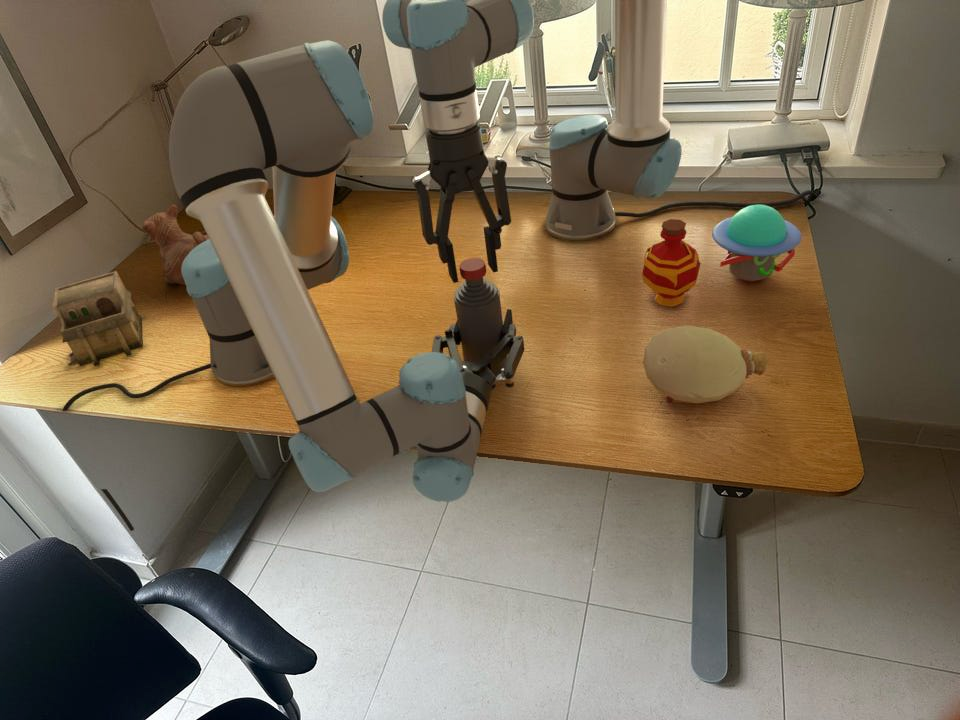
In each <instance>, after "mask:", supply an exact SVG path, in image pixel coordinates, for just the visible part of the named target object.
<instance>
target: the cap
mask: <svg viewBox="0 0 960 720" xmlns="http://www.w3.org/2000/svg"><path fill="white" fill-rule="evenodd" d="M459 274H460V278H462V279H463V280H464V281H465V280H470V281H472V280H478V279H481V278H482V277H483V278H485V277H486V274H487V264H486V262H485V259H482V258H479V257H469V258H466V259H463V260H462V261H461V262H460V263H459Z"/></svg>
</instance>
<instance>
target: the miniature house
mask: <svg viewBox="0 0 960 720" xmlns="http://www.w3.org/2000/svg"><path fill="white" fill-rule="evenodd" d="M52 308H53V311H54V312H55V314H56V315H57V317H58V319H59V321H60V325H61V326H60V334H61V336H62V344H65V343H66V344H67V345H68V347H69V349H70V350H71V353H68V356H69V357H70V358H69V359H70V360H69V362H68V363H67V366H68V367H71V366H74V365H77V364H78V365H79V367H83V366H87V365H90V364H92V365H93V366H94V367H98V366H100V364H101V361H102V360H105V359H109V358H113V357H116V356H118V355H121V354H125V356H126V357H130V356H132V351H135V350H137V349H141V348H143V347H144V340H143V336H144V335H143V319H142V316H141V314H140V313H139V310H138V308H137V306H136V305H135V304H134V303H133V301H132V292H131V291H129V290H127V288H126V287H125V285H124V283H123V281H122V279H121V277H120V275H119V273H118V271H116V270H114V271H111V272H108V273H104V274H101V275H98V276H93V277H89V278H87V279H84V280H79V281H76V282H73V283H70V284H66V285H63V286H58V287H55V289H54V296H53V302H52Z"/></svg>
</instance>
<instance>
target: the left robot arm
mask: <svg viewBox="0 0 960 720" xmlns="http://www.w3.org/2000/svg"><path fill="white" fill-rule="evenodd" d="M374 128H375V117H374V112H373V107H372V103H371V100H370V97H369V93H368V91H367V87H366V85H365V82H364V80H363V78H362V75H361V73H360V71H359V69H358V68H357V66H356V63H355V62H354V59H353V58H352V57H351V55H350V54H349V53H348V51H347V50H346V49H345V48H344V47H343V45H341V44H340V43H338V42H336V41H333V40H329V39H328V40H327V39H326V40H322V41H321V40H320V41H317V42H311V43H309V42H304V43H303V44H300V45H296V46H293V47H289V48H286V49H282V50H279V51H275V52H272V53H268V54H265V55H261V56H257V57H253V58H250V59H245V60H242V61H239V62H236V63H232V64H229V65H220V66H217V67H214V68H212V69H209V70H207V71H205V72H204V73H201V74H200V75H199V76H198V77H196V78H195V79H194V80H193V81H192V82H191V83H190V84H189V85H188V87H186V89H185V91H183V94H182V95H181V97H180V99H179V101H178V103H177V105H176V108H175V111H174V114H173V116H172V119H171V125H170V130H169V138H168V140H169V141H168V155H169V158H168V159H169V168H170V173H171V178H172V181H173V184H174V188H175V191H176V193H177V196H178V199H179V200H180V203H181V205H182V207H183V209H184V211H185V213H186V215H187V216H189V217H190V218H193V219H196V220H197V221H200V223H201V225H202V227H203V228H204V231H205V233H206V235H207V236H208V237H209V239H208V240H206V241H204V242H203V243H201V244H199V245H198V246H197V247H195V248H194V249H193V250H192V251H191V252H190V253H189V254H188V255H187V256H186V258H185V259H184V261H183V263H182V268H181V272H182V276H183V278H184V281H185V284H186V285H185V286H186V292H187V294H188V296H189V297H191V299H192V301H193V304H194V307H195V308H196V311H197V313H198V315H199V317H200V319H201V322H202V325H203V326H204V329H205V331H206V333H207V335H208V338H209V357H210V363H208V364H205V365H204V364H203V365H202V366H199V367H195V368H193V369H190V370H188V371H184V372H181V373H179V374H176V375H173V376H171V377H169V378H166V379H165V380H164V381H162V382H160V383H159V384H157V385H155V386H154V387H152V388H151V389H149V390H147V391H143V392H140V393H139V392H138V393H133V392H130V391H129V390H128V389H127V388H126V387H125V386H123V385H122V384H120V383H116V382H114V383H113V382H112V383H105V384H100V385H96V386H92V387H89V388H86V389H84V390H81V391H79V392H77V393H76V394H75V395H73V396H72V397H70V398H69V400H67V402H66V403H65V404H64V406H63V407H62V412H66V411H68V410H69V409H70V407H71V406H72V405H73V404H74V403H75V402H76V401H77V400H78V399H80V398H81V397H83V396H85V395H87V394H90V393H93V392H96V391H97V392H98V391H101V390H106V389H113V388H114V389H118V390H120V391H121V392H122V393H123V394H124V395H125V396H126V397H128V398H131V399H141V398H142V399H143V398H145V397H148V396H151V395H152V394H154V393H156V392H158V391H159V390H161V389H163V388H164V387H166V386H167V385H170V384H171V383H173V382H175V381H178V380H180V379H182V378H185V377H189V376H192V375H194V374H197V373H201V372H203V371H206V370H209V369H211V371H212V373H213V376H214V377H215V379H216V380H217V381H218V383H221V384H222V385H224V386H226V387H231V388H249V387H254V386H258V385H262V384H264V383H268V382H269V381H271V380H274V379H275V381H276V383H277V386H278V387H279V389H280V391H281V393H282V395H283V397H284V399H285V402H286V403H287V406H288V409H289V410H290V412H291V414H292V417H293V419H294V421H295V423H296V425H297V427H298V430H299V432H296V434H294V435H293V436H291V437H290V438H289V440H288V441H287V442H288V443H287V445H288V449H289V451H290V454H291V456H292V459H293V460H294V462H295V464H296V467H297V469H298V471H299V473H300V475H301V476H302V478H303V480H304V482H305V484H306V485H307V486H308V488H309V489H311V491H313V492H315V493H323V492H326V491H328V490H330V489H333V488H335V487H337V486H339V485H341V484H343V483H345V482H347V481H349V482H350V481H353V480H354V478H356V477H358V476H359V475H361V474H363V473H366V472H367V471H369V470H371V469H373V468H374V467H377V466H378V465H380V464H382V463H384V462H386V461H387V460H389V459H391V458H393V457H395V456H397V455H399V454H401V453H404V452H406V451H407V450H409V449H411V448H413V447H415V446H416V451H417V458H416V461H415V462H414V463H413V471H412V472H413V473H412V483H413V486H414V488H415V489H416V490H417V492H418V493H420V494H421V495H422V496H423V497H425V498H426V499H429V500H431V501H434V502H438V503H439V502H445V503H450V502H451V503H452V502H455V501H458V500H459V499H462V498H463V497H464V496H465V495H466V494H467V492H468V490H469V488H470V485H471V481H472V478H473V476H474V474H475V472H474V469H475V465H476V460H477V457H478V451H479V448H480V447H479V446H480V442H481V437H482V433H483V429H484V424H485V421H486V417H487V412H488V408H489V404H490V400H491V397H492V392H493V390H494V389H495V388H496V387H497V385H505V387H507V388H510V389H511V388H513V387H514V385H515V381H514V377H515V374H516V372H517V370H518V368H519V365H520V362H521V360H522V358H523V354H524V352H525V341H524V340H525V339H524V336H523V335H517V325H516V324H515V323H514V320H513V310H512V308H506V311H505V316H504V319H503V328H502V339H501V341H500V342H499V343H498V344H497V345H496V346H495V347H494V348H493V350H492V351H491V352H490V353H489V354H488V355H487V356H484V357H483V358H482V359H481V360H480V361H477V362H468V361H464V360H462V359H461V356H460V353H459V351H458V347H457V346H460V345H461V338H460V332H459V326H458V320H457V319H456V322H455V323H451V324H450V325H449V327H448V328H447V329H445V331H444V336H441V335H439V334H438V335H435V336H434V337H433V341H432V342H433V343H432V349H431V351H426V352H421V353H418V354H416V355H413V356H412V357H409V358H408V360H407V361H406V363H404V364H403V365H402V366H401V367H400V369H399V374H398V378H399V379H398V384H399V385H397V386H394V387H392V388H390V389H388V390H386V391H383V392H382V393H379V394H378V395H376V396H374V397H372V398H370V399H367V400H365V401H364V402H361V403H360V401H359V399H358V397H357V395H356V392H355V390H354V387H353V385H352V383H351V381H350V379H349V376H348V375H347V372H346V370H345V368H344V366H343V364H342V361H341V359H340V357H339V355H338V353H337V351H336V348H335V346H334V344H333V343H332V340H331V337H330V335H329V332H328V331H327V329H326V327H325V324H324V323H323V320H322V318H321V316H320V314H319V312H318V309H317V307H316V305H315V302H314V300H313V299H312V296H311V294H310V292H309V290H311V289H315V288H316V287H318V286H321V285H324V284H329V283H332V282H334V281H335V280H336V279H338V278H340V277H342V276H343V275H345V274H346V272H347V271H348V269H349V266H350V253H349V251H348V249H349V245H348V241H347V238H346V236H345V233H344V231H343V230H342V227H341V225H340V224H339V222H338V221H337V220H336V218H335V217H333V216H332V211H333V203H334V196H335V195H334V193H335V184H336V175H337V171H338V170H339V169H340V168H341V167H342V166H343V165H344V164H345V163H346V161H347V159H348V157H349V155H350V152H351V146H352V142H353V141H356V140H360V141H361V140H364V138H366V137H368V136H369V135H371V134H372V133H373V131H374ZM269 168H271V171H272V174H271V175H272V192H273V194H272V195H273V212H274V213H273V212H272V210H271V208H270V205H269V203H268V201H267V199H266V195H267V192H268V189H269V187H270V185H269V181H268V179H267V177H266V175H265V173H264V171H263V170H266V169H269ZM444 349H447V351H448V354H446V353H444ZM506 357H507V359H506V362H505V364H504V368H502V369H501V372H500V373H499V375H497V376H495V375H494V371H495V369H496V368H497V367H498V366H499V365H500V364H501V362H502V361H503V360H504V359H505V358H506ZM101 492H103V494H104V495H105V497H106V498H107V499H108V501H109V502H110V503H111V505H112V506H113V508H114V509H115V510H116V512H117V513H118V514H119V517H120V518H121V519H122V520H123V523H125V524H126V526H127V528H128V530H129V531H130V532H132V531H135V527H134V525H133V524H132V523H131V521H130V519H129V518H128V517H127V515H126V514H125V512H124V511H123V509H122V508H121V507H120V505H119V504H118V502H117V501H116V499H115V498H114V497H113V496H112V494H111V493H110V492H109V490H108V489H107V488H101Z"/></svg>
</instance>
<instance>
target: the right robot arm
mask: <svg viewBox="0 0 960 720" xmlns="http://www.w3.org/2000/svg"><path fill="white" fill-rule="evenodd" d="M667 9H668V0H614V71H615V72H614V101H615V102H614V111H615V113H614V115H615V116H614V119H613V120H612V122H611V123H610V124H609V122H608V120H607V118H606V117H605V116H603V115H599V114H587V115H579V116H574V117H571V118H568V119H565V120H562V121H560V122H558V123H557V124H555V125H554V126H553V127H552V128H551V130H550V132H549V147H548V150H549V159H550V174H551V175H550V176H551V188H552V189H551V190H552V191H551V193H552V194H551V198H550V202H549V206H548V209H547V213H546V216H545V229H546V232H547V233H548V234H549V236H550V235H551V236H552V237H553V238H556V239H558V240H561V241H567V242H586V241H587V242H588V241H594V240H597V239H600V238H604V237H605V236H607V235H608V234H610V233H611V232H613V230H614V229H615V227H616V223H617V218H616V217H627V218H628V217H629V218H645V217H649V216H652V215H655V214H657V213H660V212H663V211H665V210H668V209H673V208H681V207H707V206H708V207H728V208H742V209H743V208H745V207H748V206H751V205H766V206H769V207H772V208H774V207H781V206H786V205H792V204H793V203H796V202H797V201H800V200H801V199H803V198H804V197H807V196H809V195H810V196H812V197H814V198H817V197H819V196H820V195H819V194H818V195H817V196H813V195H812V194H811V190H812V189H809V190H804V191H803V192H801V193H799V194H797V195H795V196H793V197H792V198H790V199H785V200H784V199H783V200H778V201H769V202H768V201H767V202H731V201H717V200H715V201H714V200H712V201H711V200H709V201H707V200H705V201H704V200H700V201H699V200H697V201H696V200H693V201H690V200H689V201H678V202H672V203H667V204H664V205H661V206H659V207H656V208H653V209H651V210H648V211H644V212H629V211H615V209H614V205H613V204H612V200H611V198H610V195H609V192H608V191H610V192H613V193H618V194H622V195H627V196H632V197H634V198H636V199H638V198H643V199H647V200H648V199H649V200H655V199H657V198H659V197H661V196H662V195H663V194H665V192H666V191H667V190H668V189H669V187H670V186H671V184H673V183H672V182H673V181H674V179H675V177H676V175H677V172H678V171H679V168H680V163H681V160H682V159H681V158H682V153H683V152H682V149H683V148H682V144H681V142H680V141H679V140H678V139H676V138H675V137H671V123H670V121H669V120H668V119H666V118H665V117H664V116H663V111H664V110H663V109H664V107H663V106H664V87H665V86H664V84H665V83H664V82H665V59H666V58H665V57H666V35H667V34H666V32H667V31H666V30H667ZM381 15H382V16H381V19H382V27H383V31H384V33H385V35H386V37H387V39H388V41H390V42H391V43H392V44H393V45H394V46H396V47H399V48H403V49H408V50H410V52H411V56H412V62H413V68H414V73H415V78H416V85H417V90H418V94H419V102H420V103H419V104H420V109H421V114H422V120H423V126H424V127H425V128H426V130H425V139H426V145H427V151H428V157H429V164H428V167H427V171H425V172H423V173H422V174H420V175H417V174H414V175H412V176H411V178H410V181H411V183H412V184H413V186H414V189H415V190H416V196H417V202H418V208H419V218H420V225H421V226H420V227H421V233H422V237H423V239H424V240H425V242H426V244H427V245H429V246H431V245H436V246H437V251H438V257H439V260H440V262H441V263H442V264H447V272H448V276H449V277H450V279H451V281H452V283H453V284H457V283H459V276H458V271H457V265H456V259H455V251H454V245H453V242H452V241H451V239H450V238H449V231H450V223H451V217H452V210H453V204H454V202H455V197H456V195H457V194H460V193H462V192H465V191H466V192H468V191H469V192H470V191H472V193H473V195H474V197H475V200H476V201H477V203H478V206H479V207H480V211H481V212H482V214H483V217H484V218H485V220H486V223H487V225H488V226H483V235H484V244H485V250H486V259H487V266H488V267H489V268H490V270H491V271H492V273H493V274H494V273H498V272H499V268H498V259H497V251H498V250H501V248H502V241H501V240H502V239H501V234H502V232H503V229H502V228H503V227H504V226H509V225H511V223H512V216H511V209H510V204H509V197H508V189H507V183H506V173H507V168H508V163H507V161H505V159H504V158H503V157H502V156H501V155H498V154H497V155H495V156H494V157H488V156H487V154H486V153H485V150H484V142H483V133H482V124H481V123H480V122H479V119H480V109H479V100H478V93H477V81H476V80H477V79H476V71H475V68H477V67H480V66H482V65H483V64H486V63H488V62H491V61H492V60H495V59H497V58H499V57H502V56H505V55H506V54H511V53H513V52H514V51H515V50H516V49H518V48H519V47H521V46H523V45H524V44H526V43H527V42H528V40H530V39H531V36H532V34H533V30H534V27H535V26H534V25H535V18H534V9H533V7H532V4H531V2H530V0H386V1H385V3H384V5H383V9H382V14H381ZM487 168H488V171H489V172H490V173H491V179H492V185H493V190H494V198H495V204H496V209H497V215H495V212H494V210H493V208H492V205H491V203H490V201H489V199H488V196H487V194H486V192H485V188H483V185H482V183H481V179H482V178H483V175H484V174H485V172H486V170H487ZM432 180H433V181H434V182H435V183H436V184H437V185H438V186H439V203H438V210H437V217H436V218H437V219H436V224H435V231H434V224H433V216H432V207H431V199H430V195H429V192H428V191H429V190H430V189H431V182H432Z"/></svg>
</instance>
